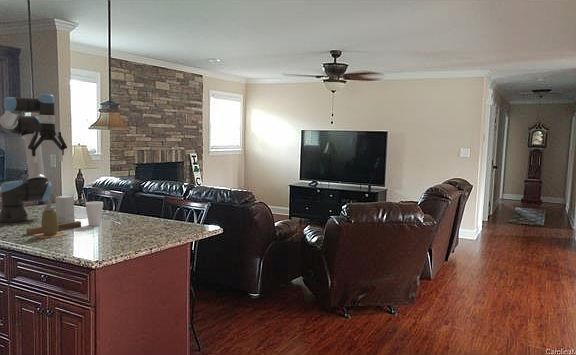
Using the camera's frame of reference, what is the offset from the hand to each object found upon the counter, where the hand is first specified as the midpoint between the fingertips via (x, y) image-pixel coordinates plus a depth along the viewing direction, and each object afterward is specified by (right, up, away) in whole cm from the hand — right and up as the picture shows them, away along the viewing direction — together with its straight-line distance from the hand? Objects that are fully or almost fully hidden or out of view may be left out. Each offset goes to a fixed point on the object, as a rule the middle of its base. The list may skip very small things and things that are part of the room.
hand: (48, 161), depth 259 cm
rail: (+10, -38, -7) cm, 40 cm away
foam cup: (+20, -36, +13) cm, 43 cm away
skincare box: (+1, -35, +18) cm, 39 cm away
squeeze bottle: (+8, -38, -14) cm, 42 cm away
